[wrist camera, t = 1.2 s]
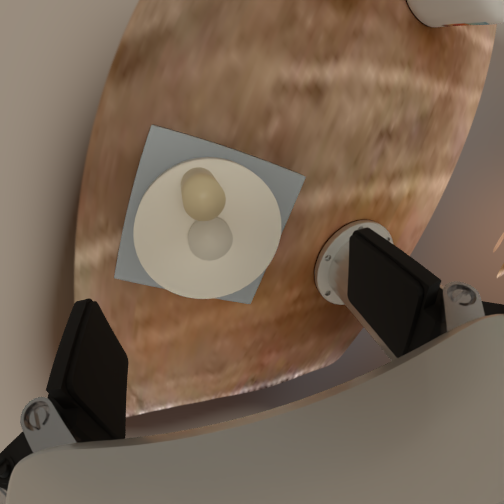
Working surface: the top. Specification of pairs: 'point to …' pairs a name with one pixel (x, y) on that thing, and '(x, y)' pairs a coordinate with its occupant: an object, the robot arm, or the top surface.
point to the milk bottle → (458, 12)
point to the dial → (206, 228)
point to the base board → (181, 149)
